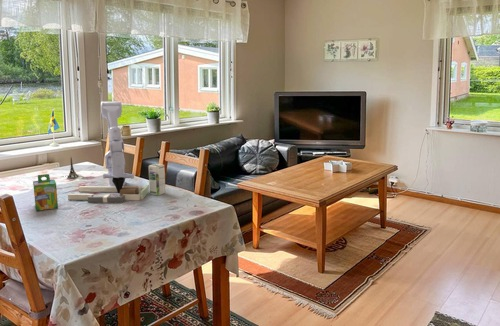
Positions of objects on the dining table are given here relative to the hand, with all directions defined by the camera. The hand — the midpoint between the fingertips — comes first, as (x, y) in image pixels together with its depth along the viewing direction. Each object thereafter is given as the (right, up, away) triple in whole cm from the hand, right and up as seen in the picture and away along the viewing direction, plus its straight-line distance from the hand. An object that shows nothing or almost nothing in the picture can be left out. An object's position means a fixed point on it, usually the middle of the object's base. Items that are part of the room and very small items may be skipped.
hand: (119, 192), depth 215 cm
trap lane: (-5, -2, -1) cm, 6 cm away
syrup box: (+18, -1, +4) cm, 18 cm away
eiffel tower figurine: (-36, +5, +34) cm, 50 cm away
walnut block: (+5, -2, 0) cm, 5 cm away
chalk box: (-28, -6, -17) cm, 33 cm away
